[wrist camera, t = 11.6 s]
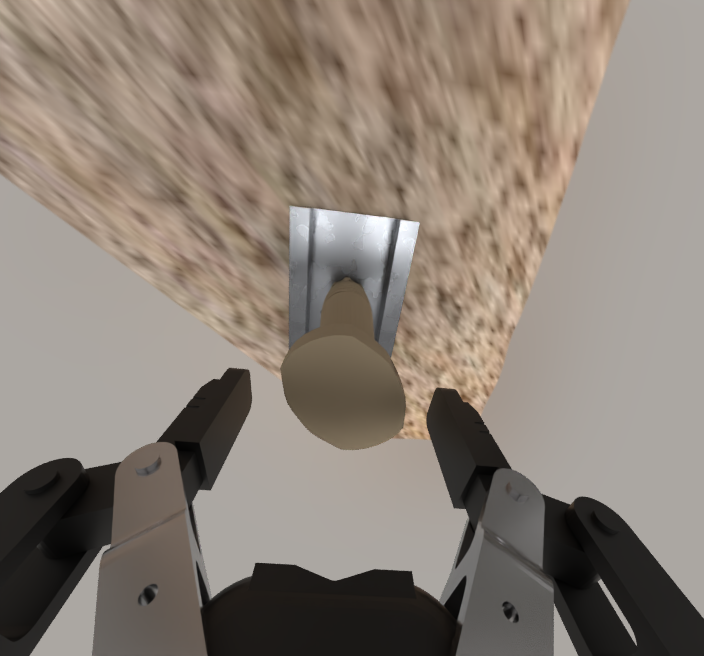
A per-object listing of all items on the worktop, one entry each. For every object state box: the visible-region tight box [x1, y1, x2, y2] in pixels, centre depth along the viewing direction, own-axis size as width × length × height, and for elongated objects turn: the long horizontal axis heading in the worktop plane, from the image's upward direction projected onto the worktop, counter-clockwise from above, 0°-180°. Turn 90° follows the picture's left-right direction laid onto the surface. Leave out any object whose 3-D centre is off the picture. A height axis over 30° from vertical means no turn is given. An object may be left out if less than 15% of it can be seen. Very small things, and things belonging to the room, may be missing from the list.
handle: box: [281, 277, 406, 450], centre depth 18 cm, size 5×6×15 cm
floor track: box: [289, 206, 420, 358], centre depth 24 cm, size 14×10×4 cm
